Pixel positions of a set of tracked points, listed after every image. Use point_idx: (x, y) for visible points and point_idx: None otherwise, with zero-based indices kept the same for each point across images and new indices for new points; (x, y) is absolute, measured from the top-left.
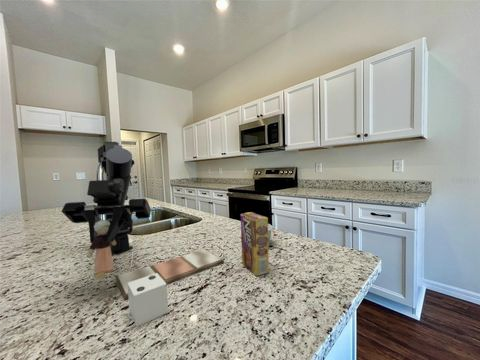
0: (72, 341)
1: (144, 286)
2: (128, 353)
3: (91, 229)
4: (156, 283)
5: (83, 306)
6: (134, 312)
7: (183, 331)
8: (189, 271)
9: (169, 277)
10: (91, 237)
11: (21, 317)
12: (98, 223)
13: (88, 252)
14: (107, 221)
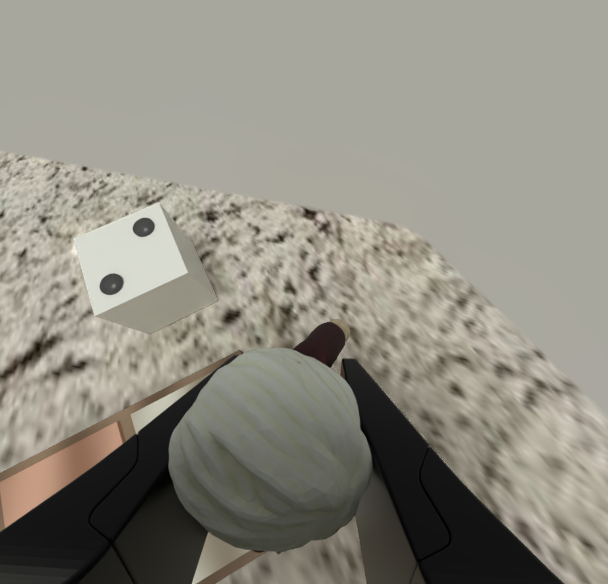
0: (306, 233)
1: (134, 238)
2: (197, 190)
3: (390, 425)
4: (100, 247)
5: (348, 350)
6: (185, 238)
7: (106, 215)
8: (24, 470)
9: (101, 433)
10: (356, 372)
11: (491, 340)
12: (277, 354)
13: (342, 326)
14: (180, 434)
